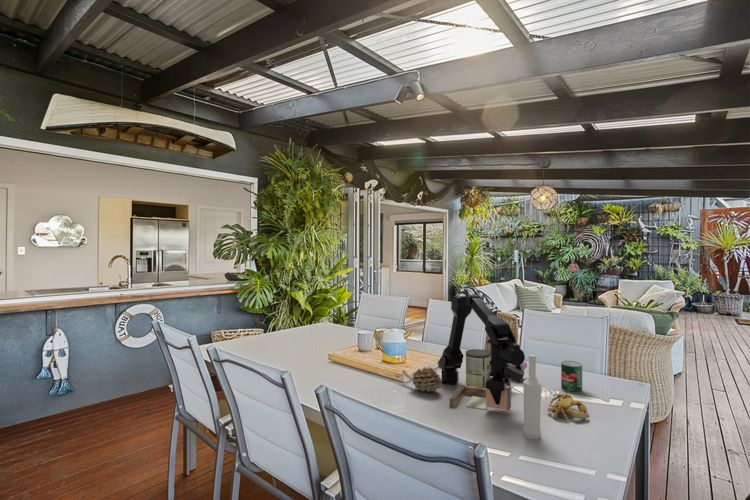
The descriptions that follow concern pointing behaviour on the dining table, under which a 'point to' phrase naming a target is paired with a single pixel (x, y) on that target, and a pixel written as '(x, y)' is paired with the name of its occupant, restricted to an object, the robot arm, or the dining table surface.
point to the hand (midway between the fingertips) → (498, 402)
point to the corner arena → (474, 401)
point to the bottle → (532, 402)
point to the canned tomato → (571, 377)
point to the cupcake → (524, 365)
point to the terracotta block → (504, 400)
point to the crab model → (568, 406)
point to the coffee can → (477, 367)
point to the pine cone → (425, 379)
